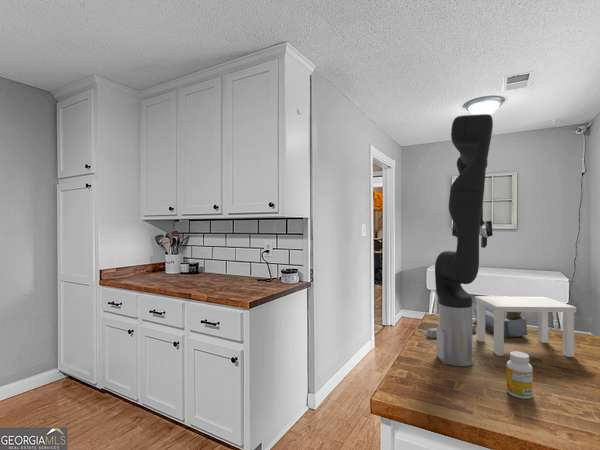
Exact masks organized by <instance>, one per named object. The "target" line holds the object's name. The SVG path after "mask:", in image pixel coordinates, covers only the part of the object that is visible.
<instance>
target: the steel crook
mask: <svg viewBox="0 0 600 450" xmlns="http://www.w3.org/2000/svg"><path fill="white" fill-rule="evenodd" d="M473 312H474V319H475V321H476V320H477V306H476V307H475V306H474V307H473ZM485 329H488V330H489V331H491V332H492V333H494V312H491V311H489V310H487V309H485ZM528 335H529V334H528V327H527V320H526V317H524V316H520V317H517V318H508V319H506V318H504V339H508V338H509V339H510V338H516V337H517V336H522V337H524V336H528ZM517 338H518V337H517Z"/></svg>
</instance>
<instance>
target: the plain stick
mask: <svg viewBox="0 0 600 450" xmlns="http://www.w3.org/2000/svg"><path fill="white" fill-rule="evenodd" d="M426 330H427V332H426V333H427V337H429V338H431V339H437V327H433V328H427V329H426ZM473 332H476V333H477V324H473V323H472V334H474V333H473Z"/></svg>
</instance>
